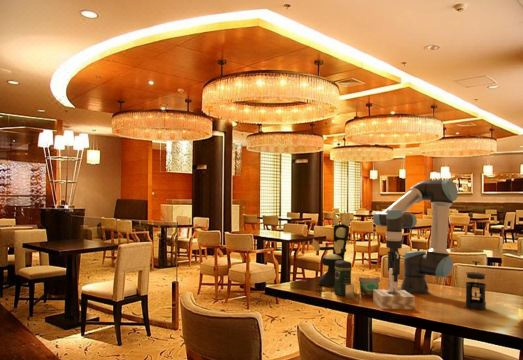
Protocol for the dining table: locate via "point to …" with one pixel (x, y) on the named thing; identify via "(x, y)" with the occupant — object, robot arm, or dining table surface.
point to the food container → (368, 286)
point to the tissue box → (393, 299)
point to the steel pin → (391, 290)
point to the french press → (471, 302)
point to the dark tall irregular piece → (334, 249)
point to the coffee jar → (342, 276)
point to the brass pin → (349, 291)
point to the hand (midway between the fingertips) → (393, 287)
